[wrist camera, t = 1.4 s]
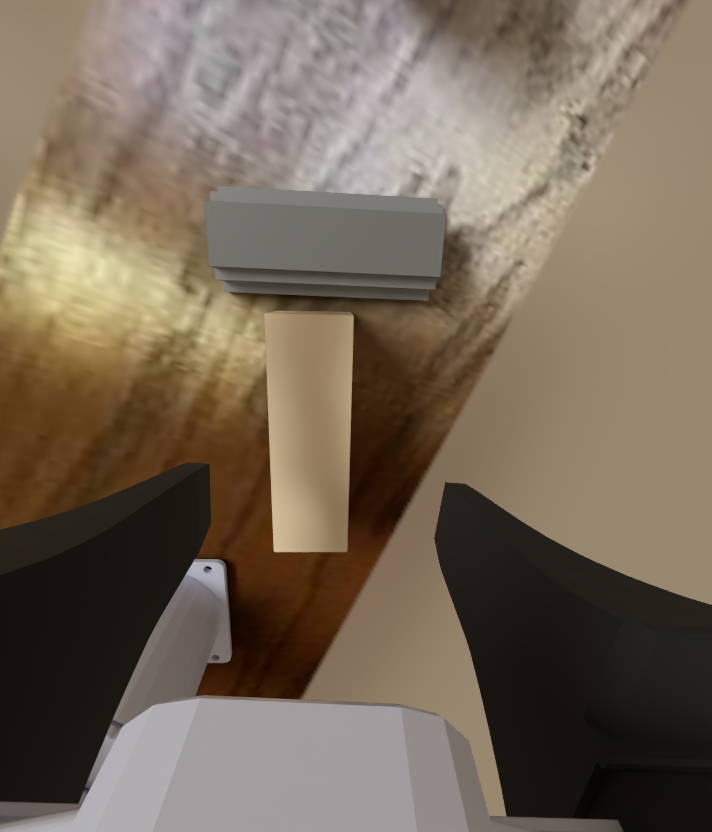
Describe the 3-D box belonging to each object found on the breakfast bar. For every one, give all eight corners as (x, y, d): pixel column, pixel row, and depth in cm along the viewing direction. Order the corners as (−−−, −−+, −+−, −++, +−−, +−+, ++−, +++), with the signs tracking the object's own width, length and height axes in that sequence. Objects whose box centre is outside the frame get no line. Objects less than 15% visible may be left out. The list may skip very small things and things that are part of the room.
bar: (288, 499, 23) (273, 552, 18) (283, 309, 19) (264, 313, 15) (345, 499, 23) (347, 552, 18) (350, 312, 20) (353, 315, 15)
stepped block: (228, 292, 19) (210, 290, 16) (222, 191, 18) (202, 172, 15) (424, 300, 19) (437, 300, 17) (433, 203, 18) (449, 186, 16)
